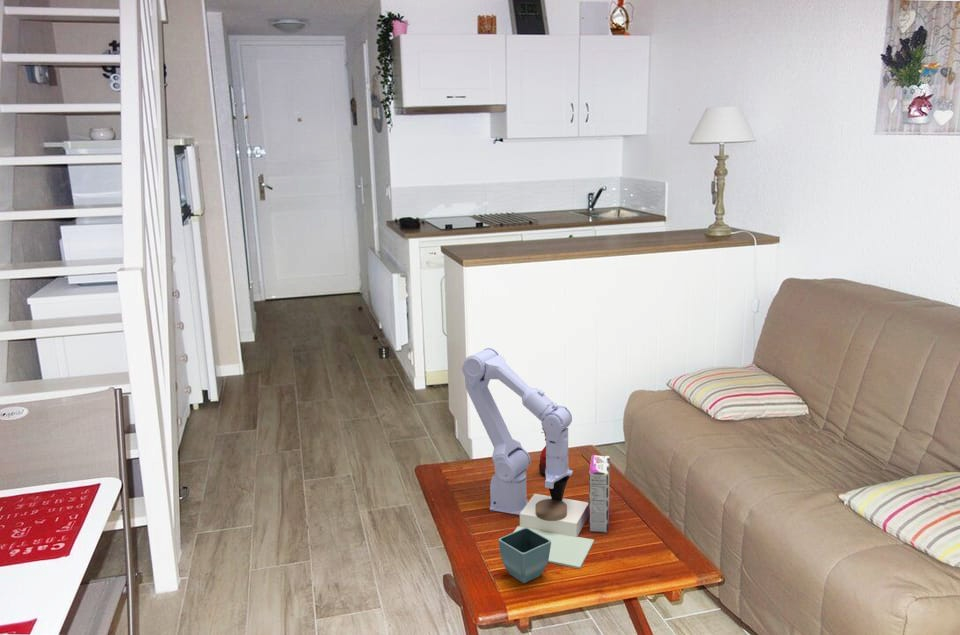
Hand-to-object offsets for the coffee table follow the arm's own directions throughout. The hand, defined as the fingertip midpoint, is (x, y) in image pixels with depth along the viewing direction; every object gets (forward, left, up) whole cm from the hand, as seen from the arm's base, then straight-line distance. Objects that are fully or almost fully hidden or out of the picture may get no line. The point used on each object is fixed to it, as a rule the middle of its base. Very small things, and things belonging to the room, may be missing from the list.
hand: (557, 502), depth 194 cm
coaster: (0, -5, -1) cm, 5 cm away
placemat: (+2, -14, -5) cm, 15 cm away
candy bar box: (+11, +2, -5) cm, 12 cm away
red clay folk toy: (-10, +26, -5) cm, 28 cm away
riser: (0, -2, -5) cm, 5 cm away
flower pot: (+1, -28, -5) cm, 28 cm away
